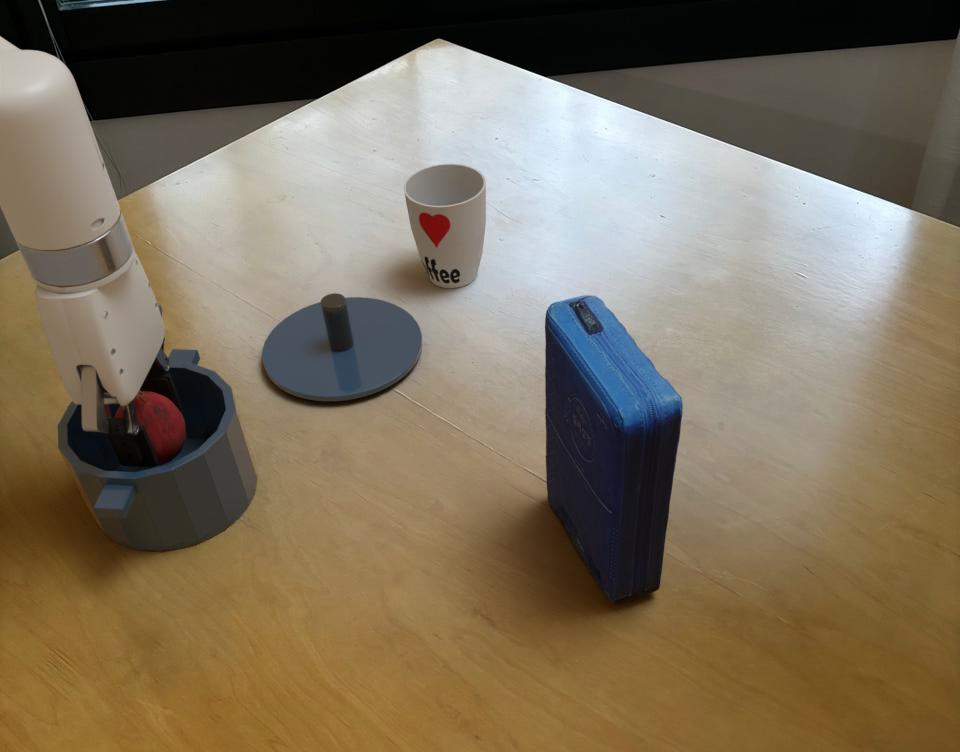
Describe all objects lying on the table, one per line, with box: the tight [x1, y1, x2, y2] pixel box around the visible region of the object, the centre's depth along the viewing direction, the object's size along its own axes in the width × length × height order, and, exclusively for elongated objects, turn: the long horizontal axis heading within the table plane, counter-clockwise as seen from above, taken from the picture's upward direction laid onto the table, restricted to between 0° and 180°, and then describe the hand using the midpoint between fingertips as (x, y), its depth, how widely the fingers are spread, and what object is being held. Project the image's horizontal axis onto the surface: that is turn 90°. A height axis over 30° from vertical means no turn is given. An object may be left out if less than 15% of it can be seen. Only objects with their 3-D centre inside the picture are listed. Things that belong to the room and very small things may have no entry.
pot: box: [57, 348, 258, 552], centre depth 92 cm, size 15×20×8 cm
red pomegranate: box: [115, 390, 187, 466], centre depth 90 cm, size 6×6×8 cm
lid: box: [261, 292, 423, 402], centre depth 104 cm, size 16×16×6 cm
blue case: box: [544, 294, 684, 605], centre depth 80 cm, size 14×5×20 cm, turn 21°
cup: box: [403, 163, 487, 289], centre depth 110 cm, size 8×8×10 cm
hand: (152, 435), depth 91 cm, fingers closed on red pomegranate, 5 cm apart
